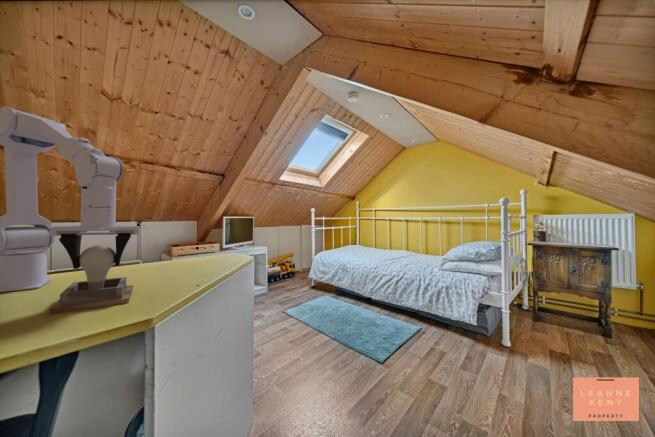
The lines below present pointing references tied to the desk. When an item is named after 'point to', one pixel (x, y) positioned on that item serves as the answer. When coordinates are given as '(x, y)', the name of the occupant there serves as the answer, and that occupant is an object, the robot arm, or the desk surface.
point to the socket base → (93, 295)
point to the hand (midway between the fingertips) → (97, 266)
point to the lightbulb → (97, 264)
